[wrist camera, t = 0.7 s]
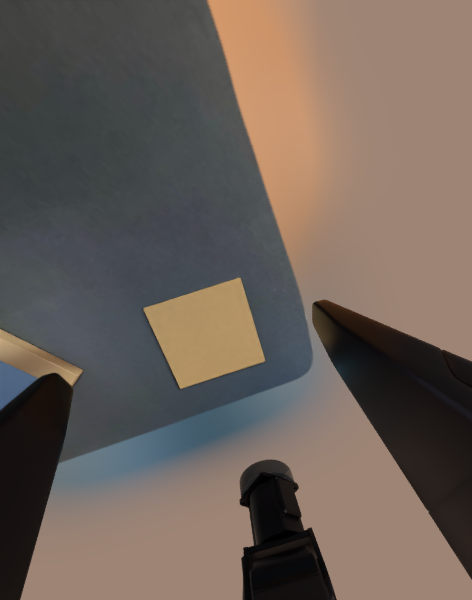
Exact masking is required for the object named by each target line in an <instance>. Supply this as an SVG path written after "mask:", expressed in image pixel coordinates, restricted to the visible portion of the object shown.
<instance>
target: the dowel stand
mask: <svg viewBox="0 0 472 600" xmlns="http://www.w3.org/2000/svg"><path fill="white" fill-rule="evenodd" d="M0 361H2V362H4V363H7V364H9V365H11V366H13V367H15V368H17V369H19V370H22V371H24V372H26V373H28V374H30V375H32V376H35V377H37V379H38V378H39V377H41V376H43V375H46V374H50V373H58V374H60V375H61V376H62V377H63V378H64V379H65V380H66V381H67V382H68V383H69V384H70V385H71V386H72V387H73V385H74V384H75V382H76V381H77V379H78V378H79V377H80V375H81V374H82V372H83V370H82V369H80V368H78V367H76V366H74V365H72V364H70V363H68V362H66V361H64V360H62V359H60V358H58V357H56V356H54V355H52V354H49V353H47V352H45V351H43V350H41V349H39V348H37V347H35V346H33V345H31V344H29V343H27V342H25V341H23V340H21V339H19V338H17V337H15V336H13V335H11V334H9V333H7V332H5V331H3V330H1V329H0Z"/></svg>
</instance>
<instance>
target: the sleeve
mask: <svg viewBox="0 0 472 600" xmlns="http://www.w3.org/2000/svg"><path fill="white" fill-rule="evenodd" d="M36 380H37V377H35V376H32V375H30V374H28V373H26V372H24V371H22V370H19V369H17V368H15V367H13V366H11V365H9V364H7V363H4V362H2V361H0V410H1V409H2V408H4V407H5V406H6V405H7V404H8V403H10V402H11V401H12V400H13V399H14V398H15V397H17V396H18V395H19V394H20V393H21V392H23V391H24V390H25V389H26V388H27V387H29V386H30V385H31V384H32V383H33V382H34V381H36Z"/></svg>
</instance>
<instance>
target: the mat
mask: <svg viewBox="0 0 472 600" xmlns="http://www.w3.org/2000/svg"><path fill="white" fill-rule="evenodd" d="M144 312H145V314H146V316H147V318H148V320H149V322H150V325H151V327H152V329H153V331H154V333H155V335H156V337H157V340H158V342H159V344H160V346H161V348H162V350H163V353H164V355H165V357H166V359H167V361H168V363H169V365H170V368H171V370H172V372H173V374H174V376H175V378H176V381H177V383H178V385H179V387H180V389H182V388H185V387H188V386H191V385H194V384H197V383H200V382H203V381H206V380H209V379H212V378H215V377H218V376H222V375H225V374H228V373H231V372H234V371H237V370H240V369H243V368H246V367H249V366H252V365H255V364H258V363H262V362H265V358H264V355H263V352H262V348H261V345H260V342H259V338H258V335H257V332H256V328H255V325H254V321H253V318H252V315H251V311H250V308H249V305H248V301H247V298H246V295H245V291H244V288H243V285H242V281H241V278H237V279H233V280H230V281H227V282H224V283H221V284H218V285H215V286H211V287H208V288H205V289H202V290H199V291H196V292H193V293H190V294H186V295H183V296H180V297H177V298H174V299H171V300H168V301H165V302H161V303H158V304H155V305H152V306H149V307H146V308H144Z"/></svg>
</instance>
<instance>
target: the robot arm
mask: <svg viewBox="0 0 472 600" xmlns="http://www.w3.org/2000/svg"><path fill="white" fill-rule="evenodd" d="M312 307H313V308H312V320H313V325H314V327H315V329H316V331H317V333H318V335H319V337H320V339H321V341H322V343H323V345H324V347H325V349H326V351H327V353H328V356H329V357H330V359H331V361H332V363H333V365H334V366H335V368H336V369H337V371H338V373H339V374H340V376H341V377H342V379H343V380H344V382H345V384H346V385H347V387H348V388H349V390H350V391H351V393H352V394H353V396H354V398H355V399H356V401H357V402H358V404H359V405H360V407H361V408H362V410H363V412H364V413H365V415H366V416H367V418H368V419H369V421H370V422H371V424H372V425H373V427H374V429H375V430H376V431H377V433H378V435H379V436H380V438H381V439H382V441H383V443H384V444H385V446H386V447H387V449H388V450H389V452H390V453H391V455H392V456H393V458H394V460H395V461H396V463H397V464H398V466H399V467H400V469H401V470H402V472H403V473H404V475H405V477H406V478H407V480H408V481H409V483H410V484H411V486H412V487H413V489H414V490H415V492H416V494H417V495H418V497H419V498H420V500H421V501H422V503H423V504H424V506H425V508H426V509H427V510H428V511H429V514H430V516H431V517H432V519H433V520H434V522H435V523H436V525H437V526H438V528H439V530H440V531H441V533H442V534H443V536H444V537H445V539H446V540H447V542H448V544H449V545H450V547H451V548H452V550H453V551H454V553H455V554H456V556H457V557H458V559H459V561H460V562H461V563H462V565H463V566H464V568H465V570H466V571H467V573H468V575H469V576H470V578H471V579H472V361H469V360H467V359H464V358H462V357H460V356H457V355H454V354H452V353H450V352H447V351H445V350H441V349H440V348H438V347H436V346H433V345H431V344H429V343H426V342H424V341H422V340H419V339H417V338H415V337H412V336H410V335H408V334H405V333H403V332H400V331H398V330H396V329H393V328H391V327H389V326H386V325H384V324H382V323H379V322H377V321H374V320H372V319H370V318H368V317H365V316H363V315H360V314H358V313H356V312H353V311H351V310H349V309H346V308H344V307H342V306H339V305H337V304H335V303H332V302H330V301H328V300H320V301H317V302H314V303H313V306H312ZM72 396H73V388H72V386H71V385H70V384H69V383H68V382H67V381H66V380H65V379H64V378H63V377H62V376H61V375H60V374H58V373H50V374H46V375H43V376H41V377H39V378H38V379H37V380H36V381H34V382H33V383H32V384H31V385H30V386H29V387H27V388H26V389H25V390H24V391H23V392H21V393H20V394H19V395H18V396H17V397H15V398H14V399H13V400H12V401H11V402H10V403H8V404H7V405H6V406H5V407H4V408H2V409H1V410H0V600H20V598H21V595H22V591H23V588H24V584H25V580H26V577H27V573H28V570H29V566H30V562H31V559H32V555H33V551H34V548H35V544H36V541H37V537H38V534H39V530H40V526H41V522H42V519H43V515H44V512H45V508H46V505H47V501H48V498H49V494H50V490H51V487H52V483H53V480H54V476H55V472H56V469H57V465H58V462H59V458H60V454H61V451H62V447H63V443H64V439H65V435H66V430H67V424H68V418H69V413H70V407H71V401H72ZM298 488H299V487H298V484H297V483H295V482H292V481H289V480H286V479H284V478H281V477H278V476H275V475H272V474H269V473H266V472H262V473H260V475H259V476H258V477H257V478H256V480H255V481H254V482H253V483H252V485H251V486H250V487H249V489H248V490H247V491H246V492H245V494H244V495H243V496H242V497H241V499H240V500H239V501H240V505H241V506H244V507H247V508H249V511H250V519H251V526H252V534H253V541H254V546H251V547H244V548H243V549H244V556H243V557H242V558H241V559H242V569H243V600H337V599H336V596H335V593H334V590H333V587H332V583H331V580H330V577H329V575H328V571H327V568H326V566H325V563H324V560H323V557H322V555H321V552H320V549H319V547H318V544H317V541H316V538H315V536H314V533H313V530H312V528H308V530H305V531H304V528H303V525H302V522H301V512H300V509H299V506H298V503H297V499H296V496H295V492H296V491H297V490H298Z"/></svg>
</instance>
